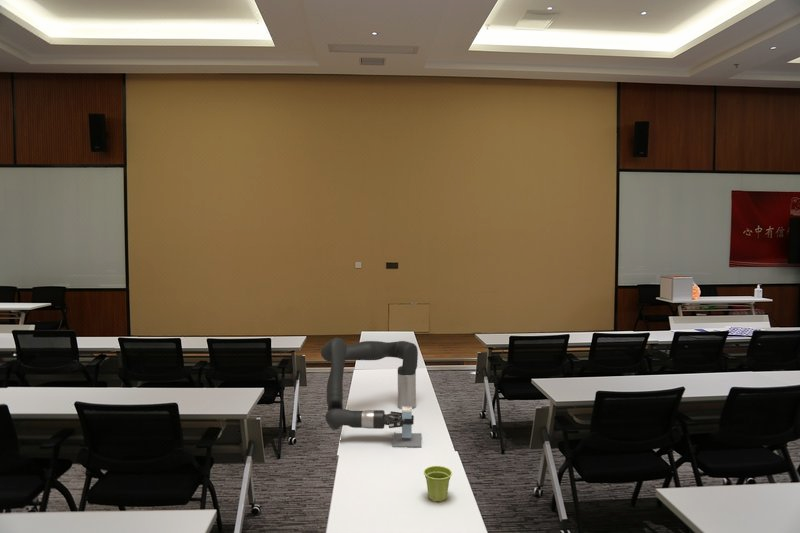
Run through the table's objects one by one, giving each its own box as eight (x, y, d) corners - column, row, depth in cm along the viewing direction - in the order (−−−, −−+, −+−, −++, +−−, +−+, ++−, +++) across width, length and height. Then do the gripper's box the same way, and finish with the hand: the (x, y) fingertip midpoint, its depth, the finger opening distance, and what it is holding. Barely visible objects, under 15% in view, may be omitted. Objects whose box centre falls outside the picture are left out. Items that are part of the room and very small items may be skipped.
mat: (393, 434, 225) (393, 433, 225) (421, 434, 224) (421, 433, 224) (392, 447, 211) (392, 446, 211) (421, 447, 210) (421, 446, 210)
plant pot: (450, 490, 175) (450, 465, 175) (453, 504, 166) (453, 478, 165) (422, 490, 175) (422, 466, 174) (425, 505, 165) (424, 479, 165)
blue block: (402, 434, 219) (402, 406, 219) (411, 434, 219) (411, 406, 219) (401, 437, 215) (401, 409, 215) (411, 437, 215) (411, 409, 215)
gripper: (371, 416, 210) (413, 416, 210) (374, 405, 224) (413, 405, 224) (371, 434, 211) (413, 434, 210) (374, 421, 225) (413, 422, 224)
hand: (413, 419), depth 217 cm, fingers closed on blue block, 4 cm apart
